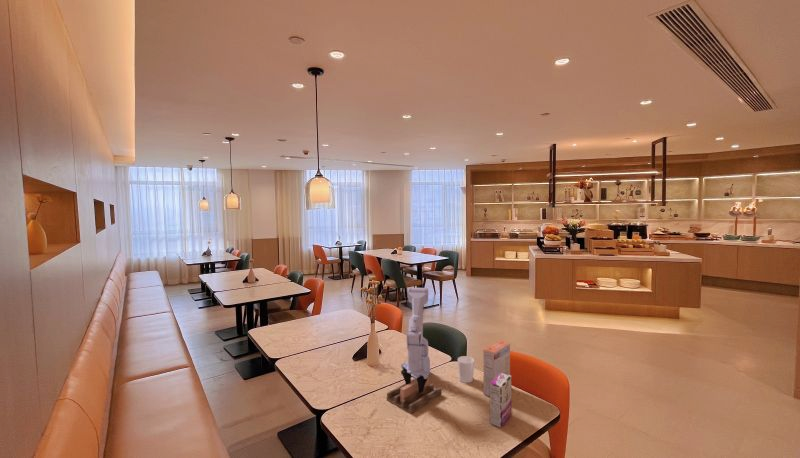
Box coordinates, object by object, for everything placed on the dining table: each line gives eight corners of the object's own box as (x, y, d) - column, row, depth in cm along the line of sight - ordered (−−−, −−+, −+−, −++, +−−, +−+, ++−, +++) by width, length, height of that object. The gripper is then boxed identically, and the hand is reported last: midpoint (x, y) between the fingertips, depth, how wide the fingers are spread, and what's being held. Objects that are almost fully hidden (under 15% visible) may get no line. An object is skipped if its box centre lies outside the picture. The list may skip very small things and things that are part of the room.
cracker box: (498, 383, 167) (499, 340, 166) (510, 387, 163) (511, 343, 162) (482, 394, 158) (482, 348, 156) (494, 399, 153) (494, 352, 152)
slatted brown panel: (417, 383, 167) (417, 376, 167) (441, 394, 157) (441, 387, 157) (387, 400, 153) (386, 393, 153) (410, 413, 143) (410, 406, 143)
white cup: (461, 374, 176) (462, 354, 176) (476, 378, 172) (476, 358, 171) (454, 380, 170) (454, 360, 169) (469, 385, 165) (470, 364, 165)
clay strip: (425, 387, 162) (425, 375, 161) (428, 389, 160) (428, 376, 160) (400, 401, 150) (400, 388, 150) (403, 403, 149) (403, 389, 149)
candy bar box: (499, 410, 145) (500, 371, 144) (511, 414, 142) (512, 375, 141) (488, 424, 136) (489, 383, 135) (501, 429, 133) (501, 387, 132)
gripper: (396, 356, 156) (396, 386, 157) (420, 367, 146) (420, 398, 147) (407, 351, 161) (407, 380, 162) (431, 361, 151) (431, 392, 152)
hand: (414, 388), depth 155 cm, fingers open, 7 cm apart
